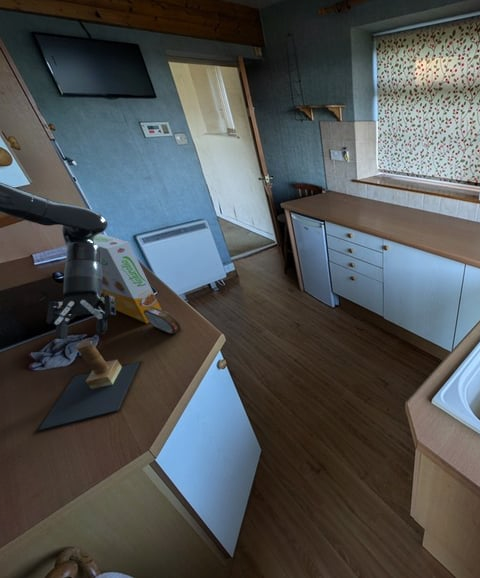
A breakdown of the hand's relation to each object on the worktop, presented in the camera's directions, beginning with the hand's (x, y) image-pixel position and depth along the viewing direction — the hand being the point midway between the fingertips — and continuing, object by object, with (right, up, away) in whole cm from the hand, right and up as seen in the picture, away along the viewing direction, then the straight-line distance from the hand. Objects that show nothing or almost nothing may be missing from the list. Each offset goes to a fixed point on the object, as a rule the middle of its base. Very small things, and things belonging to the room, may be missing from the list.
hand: (81, 336), depth 78 cm
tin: (+3, -2, +27) cm, 27 cm away
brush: (0, -13, +7) cm, 15 cm away
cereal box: (-15, +4, +36) cm, 39 cm away
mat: (0, -16, +3) cm, 17 cm away
